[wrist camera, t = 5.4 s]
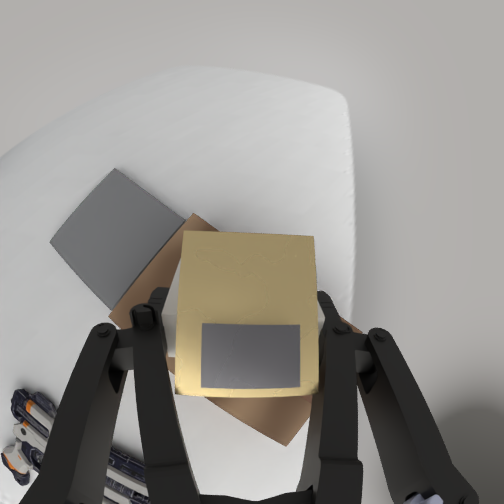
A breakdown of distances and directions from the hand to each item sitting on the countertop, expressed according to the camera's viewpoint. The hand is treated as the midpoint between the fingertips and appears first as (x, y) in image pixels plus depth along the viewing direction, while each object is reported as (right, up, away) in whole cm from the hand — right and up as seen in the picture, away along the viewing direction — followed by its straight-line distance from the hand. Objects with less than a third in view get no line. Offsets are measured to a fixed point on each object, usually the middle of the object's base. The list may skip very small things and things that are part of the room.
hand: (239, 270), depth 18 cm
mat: (-13, +3, +8) cm, 16 cm away
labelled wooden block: (0, -5, +2) cm, 5 cm away
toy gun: (-18, -22, -1) cm, 28 cm away
